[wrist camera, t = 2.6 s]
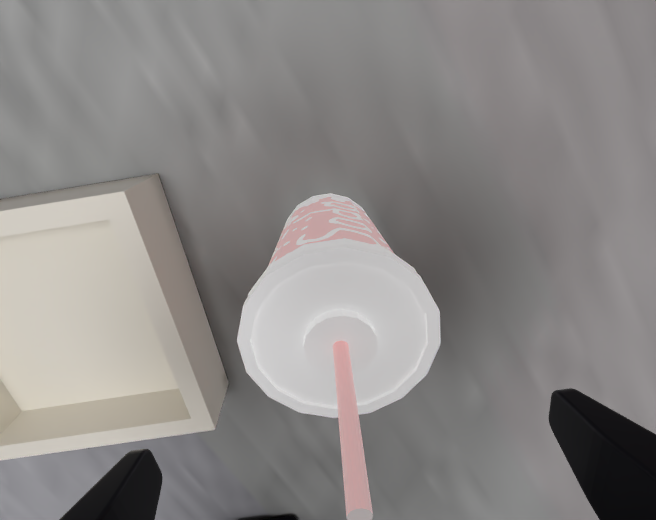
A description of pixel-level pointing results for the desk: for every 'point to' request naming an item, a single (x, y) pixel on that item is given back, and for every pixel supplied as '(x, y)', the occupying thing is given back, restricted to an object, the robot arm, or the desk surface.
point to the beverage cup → (338, 326)
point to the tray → (100, 322)
